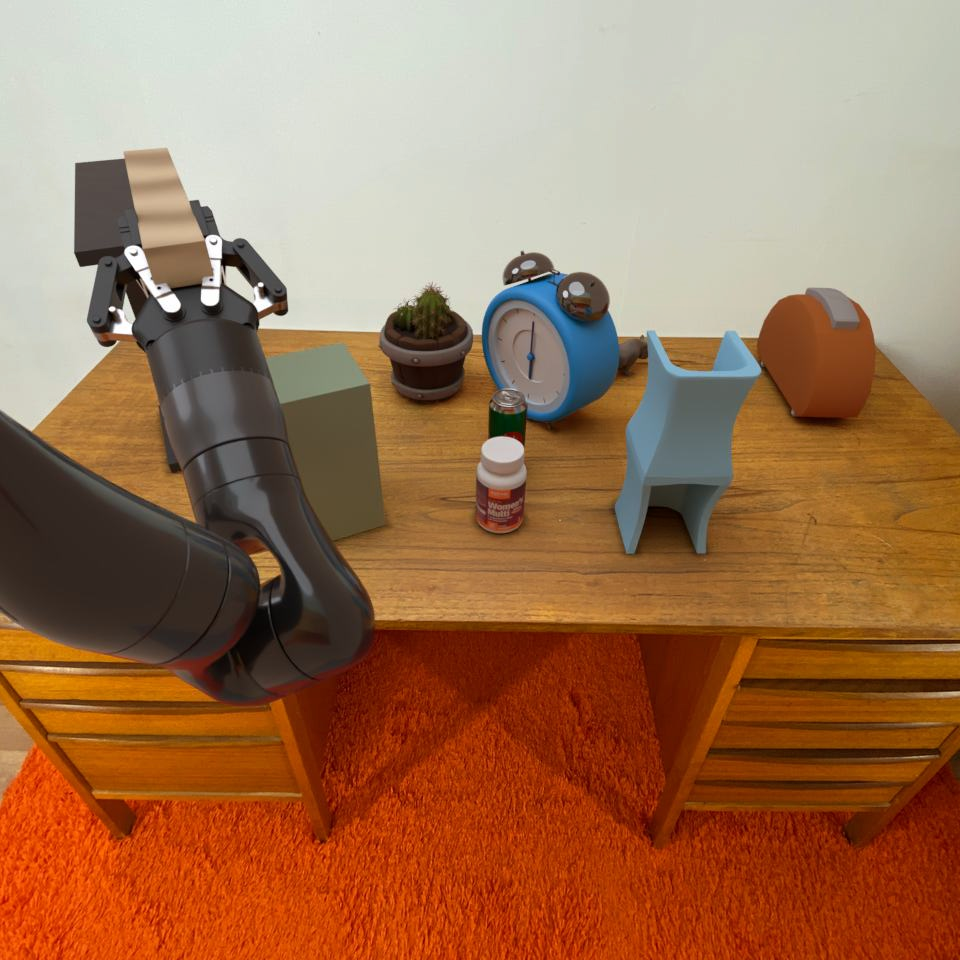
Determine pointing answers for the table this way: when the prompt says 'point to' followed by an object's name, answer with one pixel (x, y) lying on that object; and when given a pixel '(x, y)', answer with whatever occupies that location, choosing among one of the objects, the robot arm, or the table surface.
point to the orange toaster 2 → (819, 353)
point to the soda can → (508, 415)
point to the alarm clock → (551, 338)
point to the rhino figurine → (631, 353)
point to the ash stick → (166, 220)
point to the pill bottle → (501, 485)
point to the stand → (107, 231)
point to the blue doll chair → (683, 438)
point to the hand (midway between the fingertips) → (164, 212)
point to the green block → (332, 436)
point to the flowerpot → (426, 348)
